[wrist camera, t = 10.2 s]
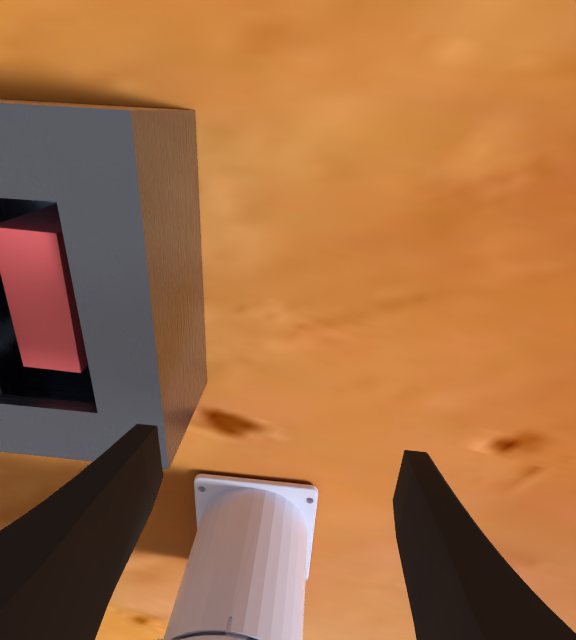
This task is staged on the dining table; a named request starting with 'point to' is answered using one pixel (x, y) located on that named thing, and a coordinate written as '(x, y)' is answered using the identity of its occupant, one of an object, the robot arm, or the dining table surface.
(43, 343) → the pink flat block
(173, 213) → the grey box with slot
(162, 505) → the dining table surface
